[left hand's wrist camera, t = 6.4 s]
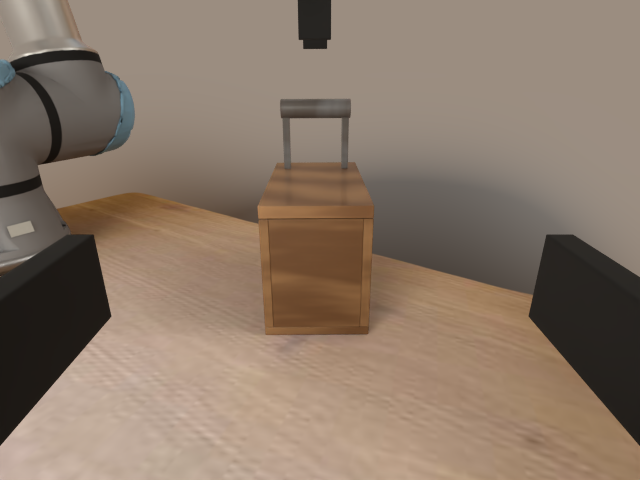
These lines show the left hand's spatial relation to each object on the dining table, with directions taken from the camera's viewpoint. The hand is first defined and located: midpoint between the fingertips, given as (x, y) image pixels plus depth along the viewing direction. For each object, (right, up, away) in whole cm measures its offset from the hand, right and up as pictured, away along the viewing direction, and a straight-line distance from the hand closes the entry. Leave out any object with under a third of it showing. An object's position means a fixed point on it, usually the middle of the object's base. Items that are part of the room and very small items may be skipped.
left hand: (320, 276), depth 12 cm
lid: (0, +6, +29) cm, 30 cm away
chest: (0, -4, +33) cm, 33 cm away
